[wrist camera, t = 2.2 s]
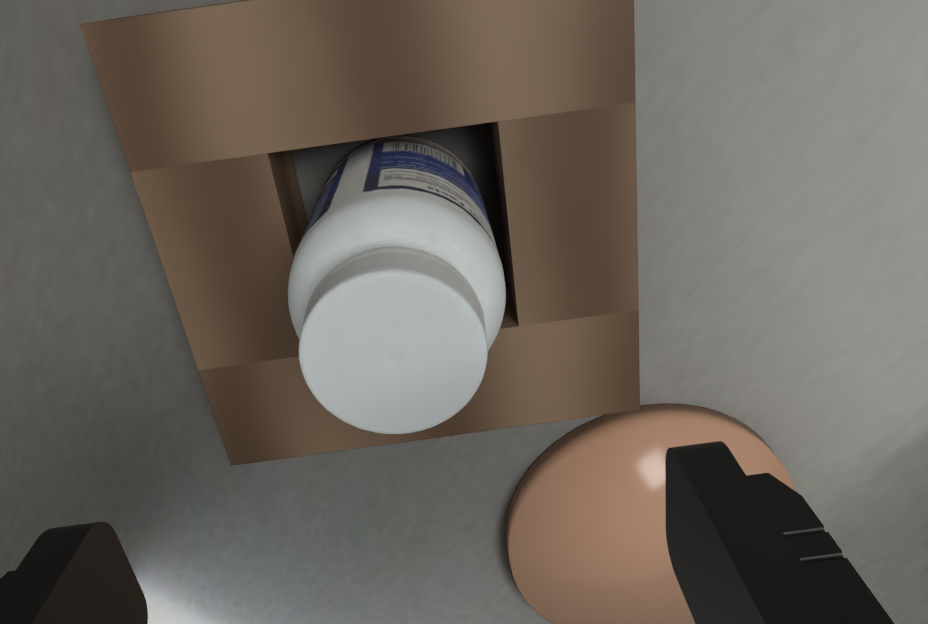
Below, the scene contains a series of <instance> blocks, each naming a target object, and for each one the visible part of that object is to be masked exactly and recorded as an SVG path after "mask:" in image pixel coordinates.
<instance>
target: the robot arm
mask: <svg viewBox="0 0 928 624" xmlns="http://www.w3.org/2000/svg"><path fill="white" fill-rule="evenodd" d="M665 472H666V539H667V546H668V551H669V556H670V560H671V563H672V567H673V570H674V573H675V576H676V578H677V581H678V583H679V585H680V588H681V590H682V593H683V595H684V597H685V600H686V602H687V605H688V607H689V609H690V612H691V614H692V617H693V619H694V621H695V624H894V623H893V621H892V620H891V618H890V617H889V616H888V614H887V613H886V611H885V610H884V609H883V607H882V606H881V605H880V603H879V602H878V600H877V599H876V598H875V596H874V595H873V594H872V592H871V591H870V589H869V588H868V587H867V585H866V584H865V582H864V581H863V580H862V578H861V577H860V576H859V574H858V573H857V571H856V570H855V569H854V567H853V566H852V564H851V563H850V562H849V560H848V559H847V558H844V557H843V555H842V551H841V549H840V548H839V547H838V545H837V544H836V542H835V541H834V540H833V538H832V537H831V535H830V534H829V533H828V532H825V531H824V526H823V524H822V523H821V522H820V520H819V519H818V517H817V516H816V515H815V513H814V512H813V511H812V509H811V508H810V506H809V505H808V504H807V502H806V501H805V500H804V498H803V497H802V496H801V495H800V494H798V493H797V492H796V491H794V490H793V489H791V488H790V487H788V486H787V485H786V484H784V483H783V482H781V481H780V480H778V479H777V478H775V477H774V476H773V475H771V474H770V473H762V474H754V475H747V476H746V474H745V473H744V471H743V470H742V468H741V467H740V465H739V463H738V462H737V460H736V459H735V457H734V456H733V454H732V453H731V451H730V449H729V448H728V447H727V445H726V444H725V443H724V442H722V441H716V442H709V443H701V444H694V445H686V446H679V447H671V448H668V450H667V452H666V461H665ZM147 620H148V614H147V604H146V600H145V597H144V594H143V592H142V590H141V587H140V585H139V583H138V581H137V579H136V576H135V574H134V572H133V570H132V568H131V565H130V563H129V561H128V559H127V557H126V554H125V552H124V550H123V548H122V546H121V543H120V541H119V539H118V537H117V535H116V533H115V531H114V529H113V528H112V527H111V525H109V524H108V523H106V522H96V523H88V524H81V525H73V526H66V527H58V528H52V529H48V530H46V531H45V532H43V533H42V534H41V535H40V536H39V538H38V539H37V540H36V542H35V543H34V545H33V546H32V547H31V549H30V550H29V552H28V553H27V555H26V556H25V558H24V559H23V560H22V562H21V563H20V565H19V566H18V568H17V569H16V571H9V572H8V573H6V574H5V575H4V576H3V577H2V578H1V579H0V624H147Z"/></svg>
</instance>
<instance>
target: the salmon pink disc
mask: <svg viewBox="0 0 928 624" xmlns="http://www.w3.org/2000/svg"><path fill="white" fill-rule="evenodd" d="M716 441H722V442H724V443H725V444H726V445H727V447H728V448H729V449H730V451H731V453H732V454H733V456H734V457H735V459H736V460H737V462H738V463H739V465H740V467H741V468H742V470H743V471H744V473H745V474H746V476H747V475H754V474H762V473H770V474H771V475H773V476H774V477H775V478H777V479H778V480H780V481H781V482H783V483H784V484H786V485H787V486H788V487H790V488H791V489H793V490H794V491H795V488H794V485H793V482H792V480H791V478H790V476H789V475H788V473H787V471H786V469H785V468H784V466H783V465H782V463H781V462H780V461H779V459H778V458H777V457H776V455H775V454H774V453H773V451H772V450H771V449H770V447H769V446H768V445H767V444H766V443H765V441H764V440H763V439H762V438H761V437H760V436H759V435H758V434H757V433H755V432H754V431H753V430H752V429H751V428H750V427H748V426H746V425H745V424H743V423H742V422H740V421H738V420H737V419H735V418H733V417H730V416H728V415H726V414H723V413H721V412H718V411H714V410H711V409H707V408H704V407H698V406H692V405H685V404H655V405H643V406H640V410H635V411H627V412H620V413H613V414H607V415H604V416H601V417H599V418H597V419H594V420H592V421H590V422H587V423H585V424H583V425H582V426H580V427H578V428H576V429H574V430H573V431H571V432H569V433H568V434H566V435H565V436H563V437H562V438H561V439H559V440H558V441H556V442H555V443H554V444H552V445H551V446H550V447H549V448H548V449H547V450H546V451H545V452H544V453H543V454H541V455H540V456H539V457H538V459H537V460H536V461H535V462H534V463H533V464H532V466H531V467H530V468H529V469H528V470H527V472H526V473H525V475H524V476H523V478H522V479H521V481H520V483H519V484H518V486H517V489H516V491H515V493H514V495H513V497H512V500H511V503H510V507H509V510H508V515H507V522H506V540H507V547H508V553H509V560H510V565H511V570H512V574H513V577H514V580H515V582H516V584H517V587H518V589H519V590H520V592H521V593H522V595H523V597H524V598H525V600H526V601H527V602H528V603H529V604H530V605H531V606H532V608H533V609H534V610H535V611H536V612H538V613H539V614H540V615H541V616H543V617H544V618H545V619H546V620H548V621H550V622H551V623H553V624H695V621H694V619H693V617H692V614H691V612H690V609H689V607H688V605H687V602H686V600H685V597H684V595H683V593H682V590H681V588H680V585H679V583H678V581H677V578H676V576H675V573H674V570H673V567H672V563H671V560H670V556H669V551H668V546H667V539H666V472H665V461H666V452H667V450H668V448H671V447H679V446H686V445H694V444H701V443H709V442H716Z"/></svg>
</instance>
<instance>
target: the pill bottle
mask: <svg viewBox="0 0 928 624" xmlns="http://www.w3.org/2000/svg"><path fill="white" fill-rule="evenodd" d="M505 303H506V288H505V280H504V271H503V267H502V263H501V260H500V257H499V254H498V250H497V247H496V243H495V240H494V237H493V233H492V230H491V227H490V223H489V220H488V216H487V214H486V210H485V206H484V202H483V199H482V196H481V194H480V191H479V188H478V186H477V184H476V182H475V180H474V178H473V176H472V175H471V173H470V171H469V170H468V169H467V167H466V166H465V165H464V164H463V163H462V162H461V161H460V160H459V159H458V158H457V157H456V156H455V155H454V154H453V153H451V152H450V151H448V150H447V149H445V148H444V147H442V146H440V145H438V144H435V143H433V142H431V141H428V140H425V139H422V138H417V137H411V136H388V137H383V138H379V139H376V140H374V141H371V142H369V143H367V144H365V145H363V146H361V147H359V148H357V149H356V150H354V151H353V152H351V153H350V154H349V155H348V156H347V157H346V158H344V159H343V160H342V161H341V162H340V163H339V164H338V166H337V167H336V168H335V169H334V171H333V173H332V174H331V176H330V177H329V179H328V181H327V182H326V184H325V186H324V188H323V190H322V193H321V195H320V198H319V200H318V202H317V205H316V208H315V210H314V212H313V214H312V217H311V219H310V221H309V224H308V226H307V228H306V230H305V233H304V235H303V236H302V238H301V241H300V244H299V246H298V248H297V250H296V252H295V255H294V259H293V263H292V267H291V271H290V275H289V282H288V305H289V312H290V316H291V320H292V323H293V326H294V329H295V331H296V334H297V336H298V338H299V362H300V366H301V370H302V374H303V376H304V379H305V381H306V383H307V385H308V387H309V389H310V390H311V392H312V393H313V395H314V396H315V398H316V399H317V400H318V401H319V403H320V404H321V405H322V406H323V407H324V408H325V409H326V410H327V411H329V412H330V413H332V414H333V415H334V416H336V417H337V418H339V419H341V420H342V421H344V422H345V423H348V424H350V425H352V426H355V427H357V428H359V429H363V430H367V431H372V432H375V433H382V434H406V433H412V432H416V431H422V430H425V429H428V428H431V427H434V426H436V425H438V424H440V423H442V422H444V421H446V420H448V419H449V418H451V417H452V416H454V415H455V414H456V413H457V412H459V411H460V410H461V409H462V408H463V407H464V406H465V405H466V404H467V403H468V402H469V401H470V400H471V398H472V397H473V395H474V394H475V392H476V391H477V389H478V387H479V386H480V383H481V381H482V379H483V376H484V372H485V369H486V364H487V358H488V350H489V349H490V347H491V346H492V344H493V342H494V340H495V338H496V336H497V334H498V332H499V329H500V326H501V324H502V320H503V316H504V311H505Z"/></svg>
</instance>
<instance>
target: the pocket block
mask: <svg viewBox="0 0 928 624" xmlns="http://www.w3.org/2000/svg"><path fill="white" fill-rule="evenodd" d="M80 26H81V28H82V31H83V34H84V37H85V40H86V43H87V46H88V49H89V52H90V55H91V58H92V61H93V64H94V67H95V69H96V72H97V75H98V78H99V81H100V84H101V87H102V90H103V93H104V96H105V99H106V102H107V105H108V107H109V110H110V113H111V116H112V119H113V122H114V125H115V128H116V131H117V134H118V137H119V140H120V143H121V145H122V148H123V151H124V154H125V157H126V160H127V163H128V166H129V169H130V172H131V175H132V178H133V181H134V183H135V186H136V189H137V192H138V195H139V198H140V201H141V204H142V207H143V210H144V213H145V216H146V219H147V221H148V224H149V227H150V230H151V233H152V236H153V239H154V242H155V245H156V248H157V251H158V254H159V257H160V259H161V262H162V265H163V268H164V271H165V274H166V277H167V280H168V283H169V286H170V289H171V292H172V295H173V297H174V300H175V303H176V306H177V309H178V312H179V315H180V318H181V321H182V324H183V327H184V330H185V333H186V335H187V338H188V341H189V344H190V347H191V350H192V353H193V356H194V359H195V362H196V365H197V368H198V371H199V374H200V376H201V379H202V382H203V385H204V388H205V391H206V394H207V397H208V400H209V403H210V406H211V409H212V412H213V414H214V417H215V420H216V423H217V426H218V429H219V432H220V435H221V438H222V441H223V444H224V447H225V450H226V452H227V455H228V458H229V461H230V464H231V466H232V465H240V464H247V463H254V462H261V461H269V460H276V459H283V458H291V457H298V456H305V455H313V454H320V453H327V452H335V451H342V450H349V449H357V448H364V447H371V446H378V445H386V444H393V443H400V442H408V441H415V440H422V439H430V438H437V437H444V436H452V435H459V434H466V433H474V432H481V431H488V430H496V429H503V428H510V427H517V426H525V425H532V424H539V423H547V422H554V421H561V420H569V419H576V418H583V417H591V416H598V415H605V414H613V413H620V412H627V411H635V410H640V384H639V317H638V249H637V181H636V113H635V45H634V0H245V1H238V2H230V3H223V4H216V5H209V6H202V7H194V8H187V9H180V10H173V11H166V12H158V13H151V14H144V15H137V16H129V17H123V18H116V19H110V20H103V21H97V22H91V23H84V24H80ZM490 122H491V132H492V141H493V151H494V160H495V170H496V179H497V189H498V198H499V208H500V217H501V226H502V236H503V245H504V255H505V264H506V274H507V283H508V288H506V303H505V311H504V316H503V320H502V324H501V326H500V329H499V332H498V334H497V336H496V338H495V340H494V342H493V344H492V346H491V347H490V349H489V350H488V358H487V364H486V369H485V372H484V376H483V379H482V381H481V383H480V386H479V387H478V389H477V391H476V392H475V394H474V395H473V397H472V398H471V400H470V401H469V402H468V403H467V404H466V405H465V406H464V407H463V408H462V409H461V410H460V411H459V412H457V413H456V414H455V415H454V416H452V417H451V418H449V419H448V420H446V421H444V422H442V423H440V424H438V425H436V426H434V427H431V428H428V429H425V430H422V431H416V432H412V433H406V434H382V433H375V432H372V431H367V430H363V429H359V428H357V427H355V426H352V425H350V424H348V423H345V422H344V421H342V420H341V419H339V418H337V417H336V416H334V415H333V414H332V413H330V412H329V411H327V410H326V409H325V408H324V407H323V406H322V405H321V404H320V403H319V401H318V400H317V399H316V398H315V396H314V395H313V393H312V392H311V390H310V389H309V387H308V385H307V383H306V381H305V379H304V376H303V374H302V370H301V366H300V362H299V338H298V336H297V334H296V331H295V329H294V326H293V323H292V320H291V316H290V312H289V305H288V282H289V275H290V271H291V267H292V263H293V259H294V255H295V252H296V250H297V248H298V246H299V244H300V241H301V238H302V236H303V235H304V233H305V230H306V228H307V226H308V222H307V218H306V213H305V209H304V205H303V201H302V196H301V192H300V188H299V184H298V179H297V175H296V171H295V167H294V162H293V158H292V154H291V150H294V149H301V148H309V147H316V146H323V145H330V144H338V143H345V142H352V141H359V140H367V139H374V138H381V137H388V136H396V135H403V134H410V133H417V132H425V131H432V130H439V129H446V128H453V127H461V126H468V125H475V124H482V123H490Z"/></svg>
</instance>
